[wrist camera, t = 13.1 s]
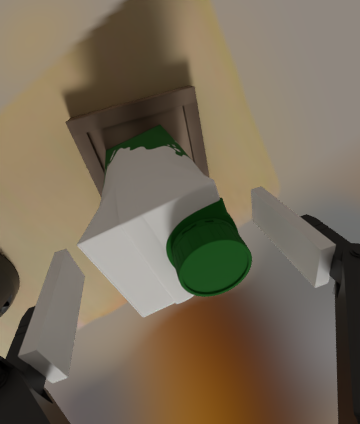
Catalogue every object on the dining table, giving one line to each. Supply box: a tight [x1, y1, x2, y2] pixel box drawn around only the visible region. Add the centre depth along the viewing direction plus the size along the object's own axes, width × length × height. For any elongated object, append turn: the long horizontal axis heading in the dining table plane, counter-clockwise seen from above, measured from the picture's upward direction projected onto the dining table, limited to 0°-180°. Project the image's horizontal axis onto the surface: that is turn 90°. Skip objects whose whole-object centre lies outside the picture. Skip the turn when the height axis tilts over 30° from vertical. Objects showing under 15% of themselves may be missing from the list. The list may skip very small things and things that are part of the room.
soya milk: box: [77, 124, 252, 317], centre depth 20 cm, size 9×9×20 cm
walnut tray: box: [66, 86, 209, 196], centre depth 29 cm, size 14×14×2 cm
